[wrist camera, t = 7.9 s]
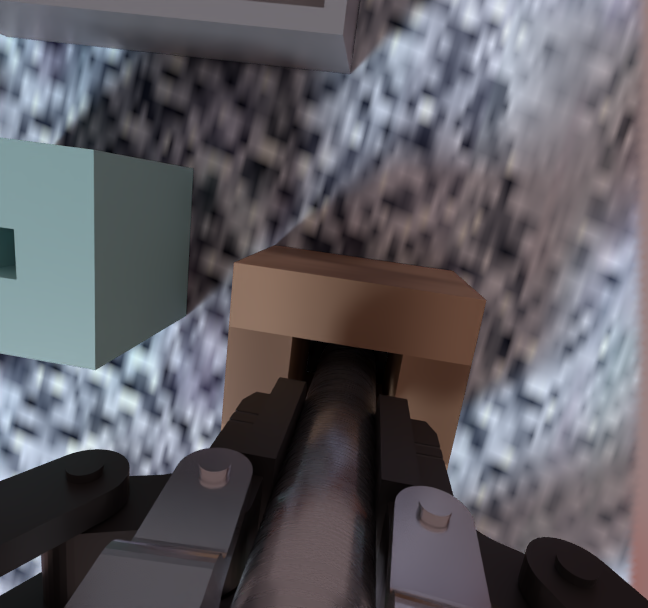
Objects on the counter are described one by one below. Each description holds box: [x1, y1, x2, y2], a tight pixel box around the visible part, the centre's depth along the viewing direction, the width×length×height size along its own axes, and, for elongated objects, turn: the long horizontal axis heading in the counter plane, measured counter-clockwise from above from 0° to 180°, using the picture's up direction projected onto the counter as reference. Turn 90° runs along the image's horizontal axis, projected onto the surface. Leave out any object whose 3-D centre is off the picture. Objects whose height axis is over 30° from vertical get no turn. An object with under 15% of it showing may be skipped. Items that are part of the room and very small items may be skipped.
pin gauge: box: [230, 343, 376, 608], centre depth 9 cm, size 2×2×12 cm
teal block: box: [0, 138, 193, 370], centre depth 14 cm, size 6×6×6 cm
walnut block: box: [221, 245, 486, 470], centre depth 15 cm, size 7×7×5 cm
